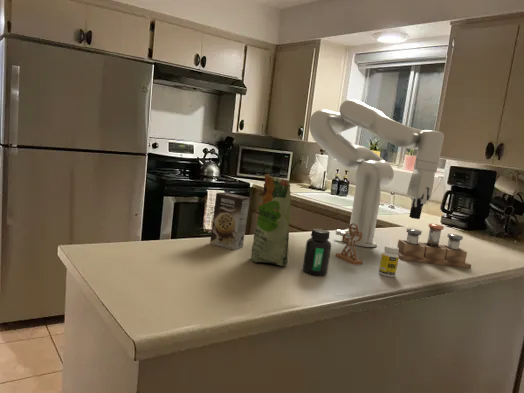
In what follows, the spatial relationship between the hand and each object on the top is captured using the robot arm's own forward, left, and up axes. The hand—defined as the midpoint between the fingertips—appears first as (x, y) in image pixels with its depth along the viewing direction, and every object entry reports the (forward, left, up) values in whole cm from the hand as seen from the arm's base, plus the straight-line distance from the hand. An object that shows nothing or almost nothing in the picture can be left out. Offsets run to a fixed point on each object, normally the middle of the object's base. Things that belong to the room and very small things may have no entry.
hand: (414, 218), depth 154 cm
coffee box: (-64, -14, -14) cm, 67 cm away
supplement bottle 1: (-39, -32, -14) cm, 53 cm away
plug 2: (+16, 0, -12) cm, 20 cm away
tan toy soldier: (-25, -14, -14) cm, 32 cm away
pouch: (-52, -27, -14) cm, 60 cm away
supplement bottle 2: (-16, -25, -14) cm, 33 cm away
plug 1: (+1, 0, -12) cm, 12 cm away
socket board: (+8, 0, -14) cm, 16 cm away
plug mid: (+8, 0, -10) cm, 12 cm away
